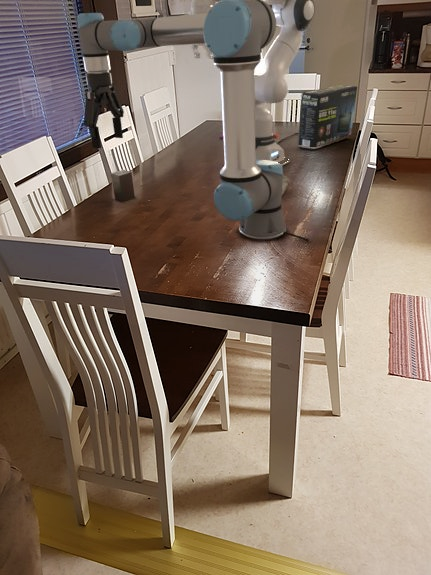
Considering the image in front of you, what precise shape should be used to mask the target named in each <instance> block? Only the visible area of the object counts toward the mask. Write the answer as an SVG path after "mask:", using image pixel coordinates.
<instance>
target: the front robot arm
mask: <svg viewBox="0 0 431 575" xmlns="http://www.w3.org/2000/svg"><path fill="white" fill-rule="evenodd" d="M76 20H77V31H78V34H79V42H80V47H81V52H82V59H83V64H84V70H85V71H84V72H86V74H85V79H86V84H87V86H88V87H89V88H90V90H91V91H85V92H84V96H85V104H84V105H85V106H84V116H83V126H84V127H86V128H88V129H89V130H88V131H89V134H90V139H91V145H92V149H102V140H101V136H100V135H101V134H100V129H99V126H97V124H98V121H99V116H100V112H101V108H103V106H105V105H106V107H107V109H108V110H109V112H110V113H111V115H112V116H113V117H112V118H111V119H112V126H113V134H114V138H115V139H123V138H124V135H123V134H124V133H123V127H122V118H124V114H125V111H124V108H123V105H122V102H121V101H120V98H119V96H118V93H117V88H116V86H115V85H113V78H112V73H111V72H110V71H111V63H110V57H109V51H121V52H129V51H130V52H131V51H135V50H137V49H143V48H158V47H159V48H160V47H174V46H192V45H197V44H206V45H205V46H206V47H207V48H208V49H209V52H210V53H211V54H212V53H213V56H214V59H213V65H214V66H215V67H216V68H217V69H218V70H219V73H220V90H221V91H220V93H221V111H222V114H221V115H222V116H221V117H222V133H223V134H222V135H223V137H224V138H223V154H224V157H223V158H224V166H222V167H221V169H220V170H219V183H220V184H218V186H217V187H216V188H215V190H214V192H213V203H214V206H215V209H216V210H217V211H218V212H219V213H220V214H221V215H222V216H223V217H224V218H225V219H227V220H229V221H232V222H239V224H238V225H239V226H238V232H239V235H240V236H241V237H242V238H244V239H247V240H250V241H254V242H271V241H277V240H279V239H281V238H283V237H285V235H287V236H289V237H294V238H296V239H300V240H303V241H306V242H309V238H307V237H305V236H301V235H299V234H295V233H291V232H288V231H287V223H286V221H285V216H284V214H283V210H282V200H283V194H282V184H283V176H284V168H283V166H282V165H281V164H280V163H278V162H275V161H270V160H256V154H255V74H256V73H255V69H256V68H257V66H258V65H259V64H260V63H261V50H263V49H264V48H266V47H267V46H269V44H270V43H271V41H272V40H273V38H274V37H275V35H276V31H277V27H276V17H275V14H274V12H273V10H272V8H271V7H270V6H269V4H267V3H266V2H264V1H263V0H222V1H220V2H218V3H216V4H215V5H214V6H213V7H212V8H211V9H210V11H209V12H208V13H202V14H192V15H185V14H181V15H173V16H163V17H162V16H161V17H150V18H149V17H148V18H139V19H117V20H105V19H104V15H103V14H102V13H101V12H86V13H84V12H83V13H78V15H77V19H76Z"/></svg>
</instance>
